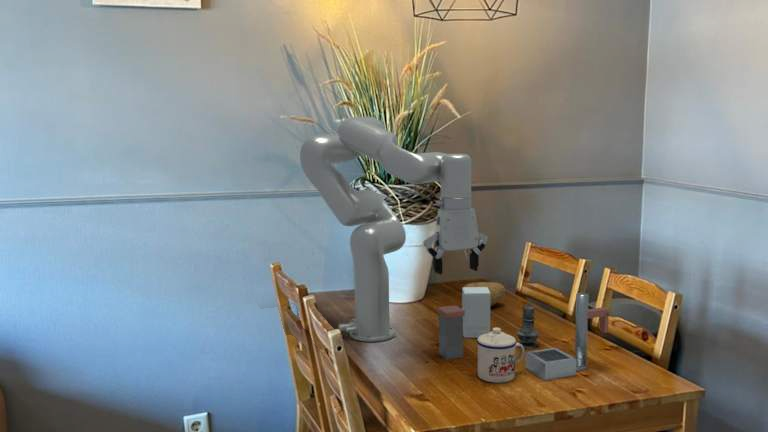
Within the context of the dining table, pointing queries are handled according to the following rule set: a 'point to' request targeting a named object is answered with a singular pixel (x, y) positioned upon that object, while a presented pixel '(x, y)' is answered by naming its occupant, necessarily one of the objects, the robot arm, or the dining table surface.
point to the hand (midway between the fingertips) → (456, 271)
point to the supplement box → (476, 311)
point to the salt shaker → (528, 328)
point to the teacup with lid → (497, 356)
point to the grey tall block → (451, 331)
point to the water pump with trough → (564, 365)
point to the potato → (491, 290)
